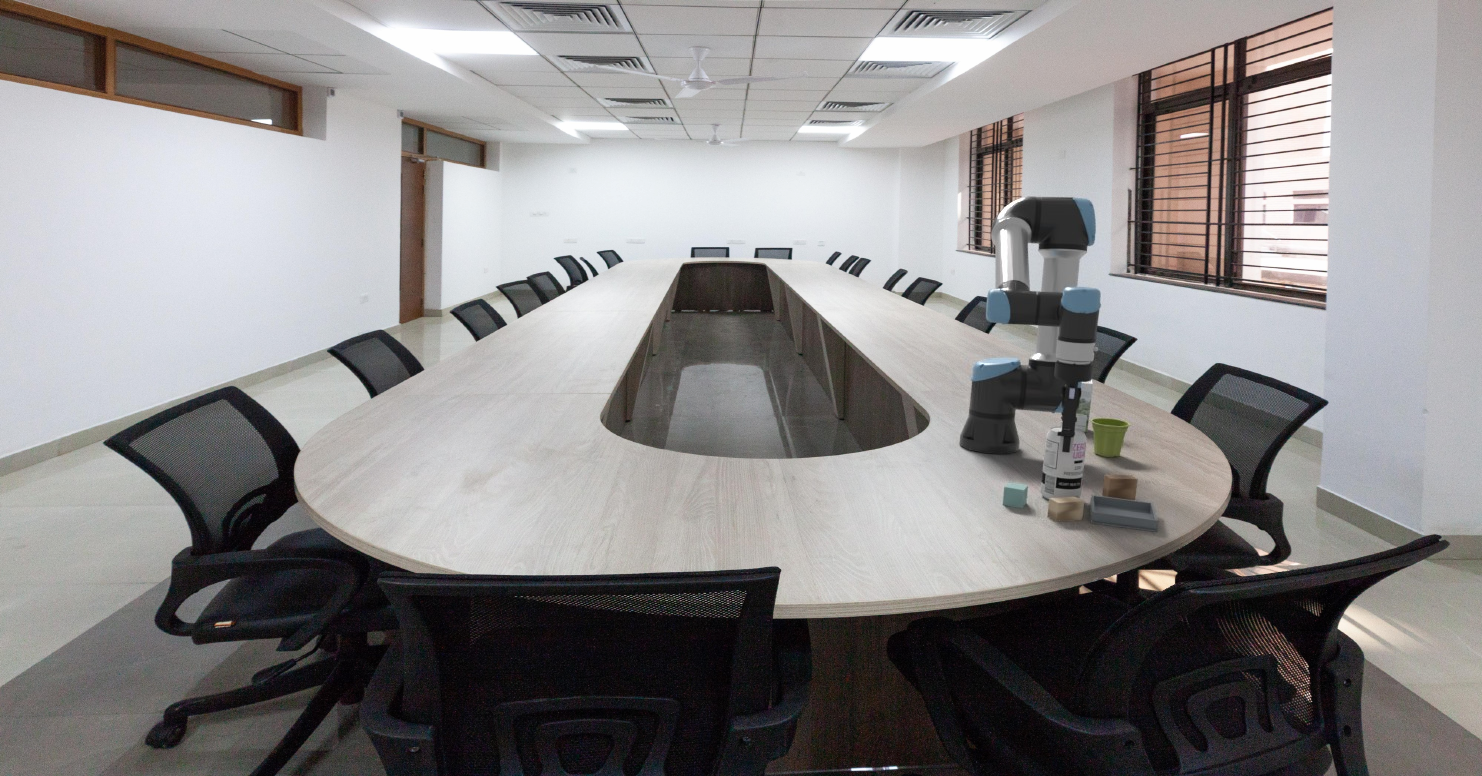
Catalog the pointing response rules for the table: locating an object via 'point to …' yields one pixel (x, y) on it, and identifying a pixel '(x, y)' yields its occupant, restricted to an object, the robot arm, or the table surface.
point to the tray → (1123, 513)
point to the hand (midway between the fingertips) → (1064, 458)
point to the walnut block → (1120, 486)
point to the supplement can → (1063, 478)
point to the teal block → (1015, 495)
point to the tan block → (1065, 508)
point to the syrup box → (1084, 406)
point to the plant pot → (1108, 436)
